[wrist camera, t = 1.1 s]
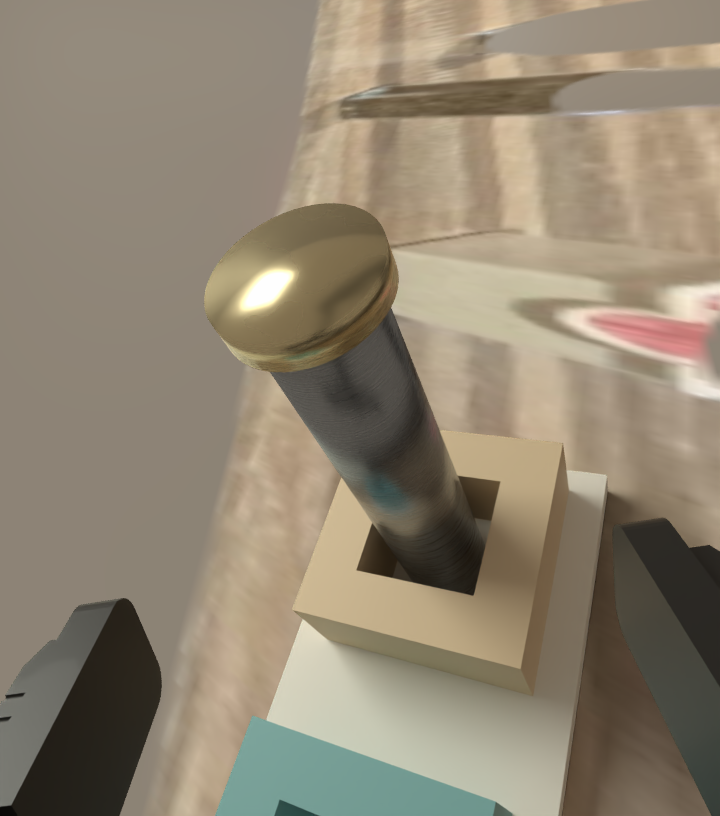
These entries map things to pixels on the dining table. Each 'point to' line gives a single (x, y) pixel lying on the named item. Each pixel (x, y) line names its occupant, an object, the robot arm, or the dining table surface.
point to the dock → (458, 708)
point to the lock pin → (350, 376)
